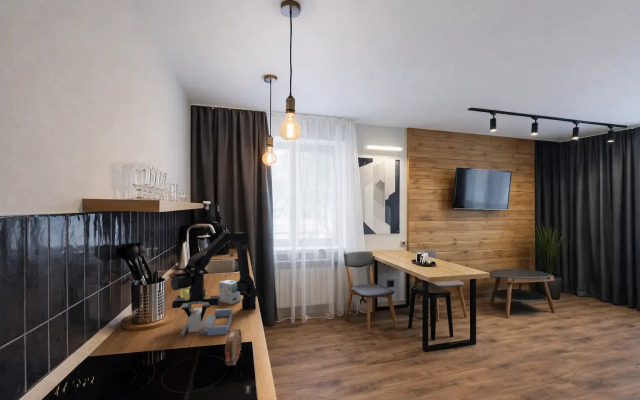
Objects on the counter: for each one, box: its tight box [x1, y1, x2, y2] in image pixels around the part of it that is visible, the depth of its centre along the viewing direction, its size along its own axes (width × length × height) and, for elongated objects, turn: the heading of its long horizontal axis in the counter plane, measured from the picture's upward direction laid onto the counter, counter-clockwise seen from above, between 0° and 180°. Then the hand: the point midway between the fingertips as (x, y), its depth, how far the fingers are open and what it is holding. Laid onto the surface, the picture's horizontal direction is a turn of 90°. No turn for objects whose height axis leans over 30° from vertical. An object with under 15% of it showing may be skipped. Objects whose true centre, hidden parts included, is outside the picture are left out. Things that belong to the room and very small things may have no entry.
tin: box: [224, 328, 242, 366], centre depth 100 cm, size 15×3×8 cm, turn 4°
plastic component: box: [179, 286, 208, 300], centre depth 172 cm, size 20×7×10 cm
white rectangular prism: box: [187, 307, 205, 333], centre depth 128 cm, size 4×12×6 cm, turn 12°
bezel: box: [207, 308, 233, 336], centre depth 130 cm, size 8×22×3 cm, turn 12°
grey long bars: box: [179, 313, 234, 338], centre depth 129 cm, size 19×20×1 cm
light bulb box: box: [218, 279, 242, 305], centre depth 163 cm, size 11×7×11 cm, turn 58°
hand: (196, 321), depth 128 cm, fingers closed on white rectangular prism, 4 cm apart
